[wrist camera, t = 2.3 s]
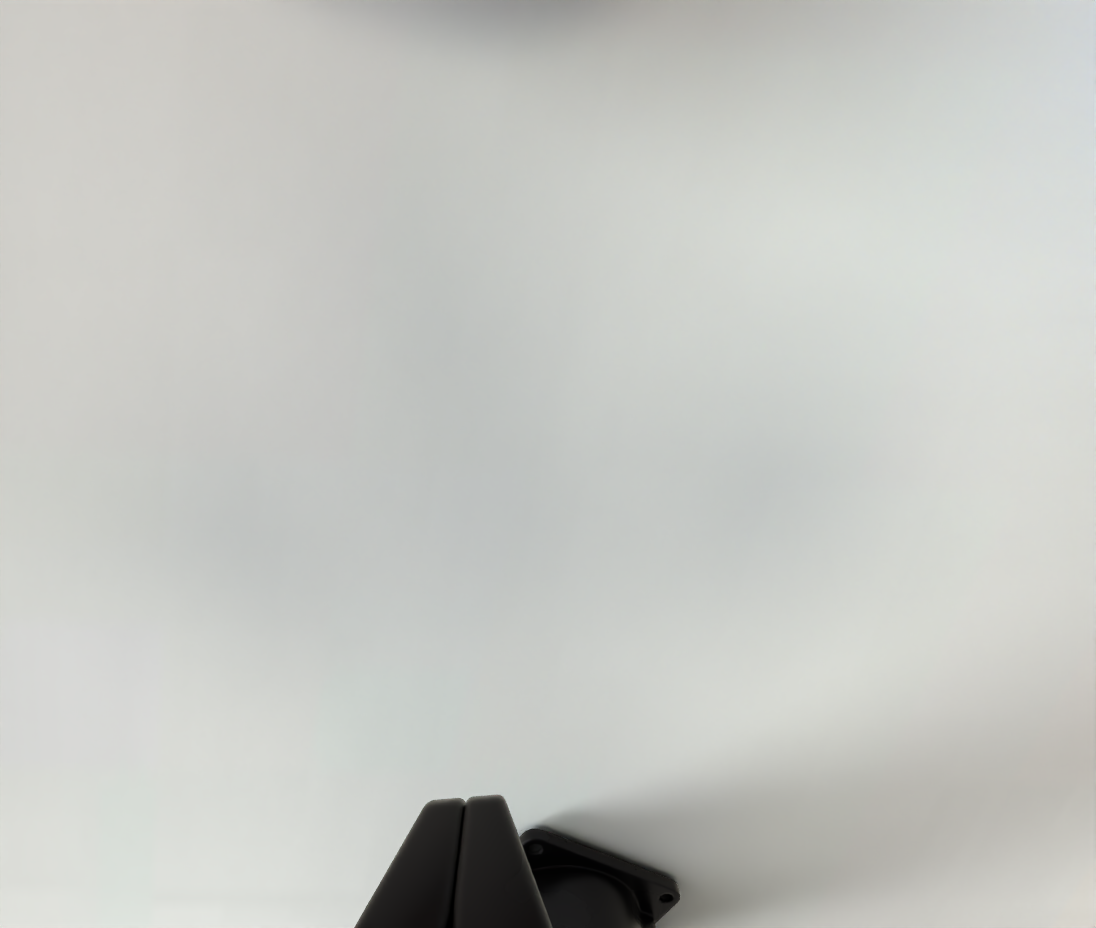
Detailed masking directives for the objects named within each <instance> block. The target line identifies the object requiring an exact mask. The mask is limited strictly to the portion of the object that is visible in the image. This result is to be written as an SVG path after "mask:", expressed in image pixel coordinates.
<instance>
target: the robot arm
mask: <svg viewBox="0 0 1096 928" xmlns="http://www.w3.org/2000/svg"><path fill="white" fill-rule="evenodd" d="M679 900H680V894H679V888H678V885H677V883H676V882H675V881H673V880H671V879H668V878H666V877H663V876H661V875H658V874H655V873H653V872H650V871H648V870H645V869H642V868H640V867H637V866H635V865H632V864H629V863H627V862H624V861H622V860H619V859H617V858H614V857H611V856H609V855H606V854H604V853H601V852H598V851H596V850H593V849H591V848H588V847H585V846H583V845H580V844H578V843H575V842H572V841H570V840H567V839H565V838H562V837H559V836H557V835H554V834H552V833H549V832H547V831H544V830H540V829H530V830H527V831H525V832H524V833H523V834H522V835H521V836H520V837H519V836H518V833H517V830H516V828H515V825H514V822H513V819H512V817H511V814H510V811H509V809H508V806H507V803H506V801H505V799H504V798H503V796H501V795H488V796H476V797H471V798H469V799H468V800H467V802H465V801H464V800H463V799H461V798H453V799H441V800H433V801H430V802H429V803H427V804H426V805H425V806H424V808H423V810H422V811H421V813H420V815H419V816H418V818H417V820H416V822H415V823H414V825H413V827H412V828H411V830H410V832H409V834H408V835H407V837H406V839H405V841H404V842H403V844H402V846H401V848H400V849H399V851H398V853H397V855H396V856H395V858H394V860H393V861H392V863H391V865H390V867H389V868H388V870H387V872H386V874H385V875H384V877H383V879H382V881H381V882H380V884H379V886H378V888H377V889H376V891H375V893H374V894H373V896H372V898H371V900H370V901H369V903H368V905H367V907H366V908H365V910H364V912H363V914H362V915H361V917H360V919H359V921H358V922H357V924H356V926H355V927H354V928H656V927H655V923H656V922H657V921H658V920H659V919H660V918H661V917H662V916H664V915H665V914H666V913H667V912H668V911H669V910H670V909H671V908H672V907H673V906H674V905H675V904H676V903H677V902H678V901H679Z"/></svg>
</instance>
